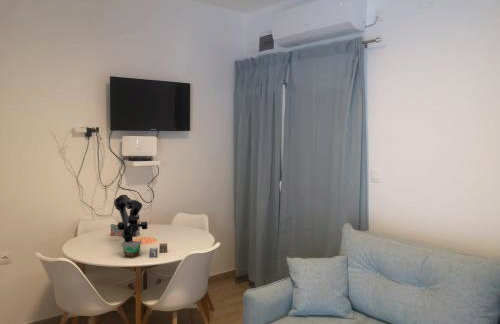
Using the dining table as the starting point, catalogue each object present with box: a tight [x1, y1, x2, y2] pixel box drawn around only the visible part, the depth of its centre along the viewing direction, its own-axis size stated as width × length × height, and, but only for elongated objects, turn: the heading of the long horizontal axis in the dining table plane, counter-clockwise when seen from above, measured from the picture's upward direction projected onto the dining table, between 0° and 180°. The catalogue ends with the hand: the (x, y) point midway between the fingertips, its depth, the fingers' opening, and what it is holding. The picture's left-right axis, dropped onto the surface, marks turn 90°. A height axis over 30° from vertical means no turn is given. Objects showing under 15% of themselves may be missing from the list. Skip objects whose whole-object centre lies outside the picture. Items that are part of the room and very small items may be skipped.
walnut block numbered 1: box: [158, 242, 168, 254], centre depth 253 cm, size 5×5×5 cm
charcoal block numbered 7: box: [148, 247, 159, 258], centre depth 243 cm, size 5×5×5 cm
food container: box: [121, 239, 142, 258], centre depth 241 cm, size 12×6×10 cm, turn 103°
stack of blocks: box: [110, 219, 141, 238], centre depth 290 cm, size 21×6×12 cm, turn 84°
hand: (131, 237), depth 242 cm, fingers closed
